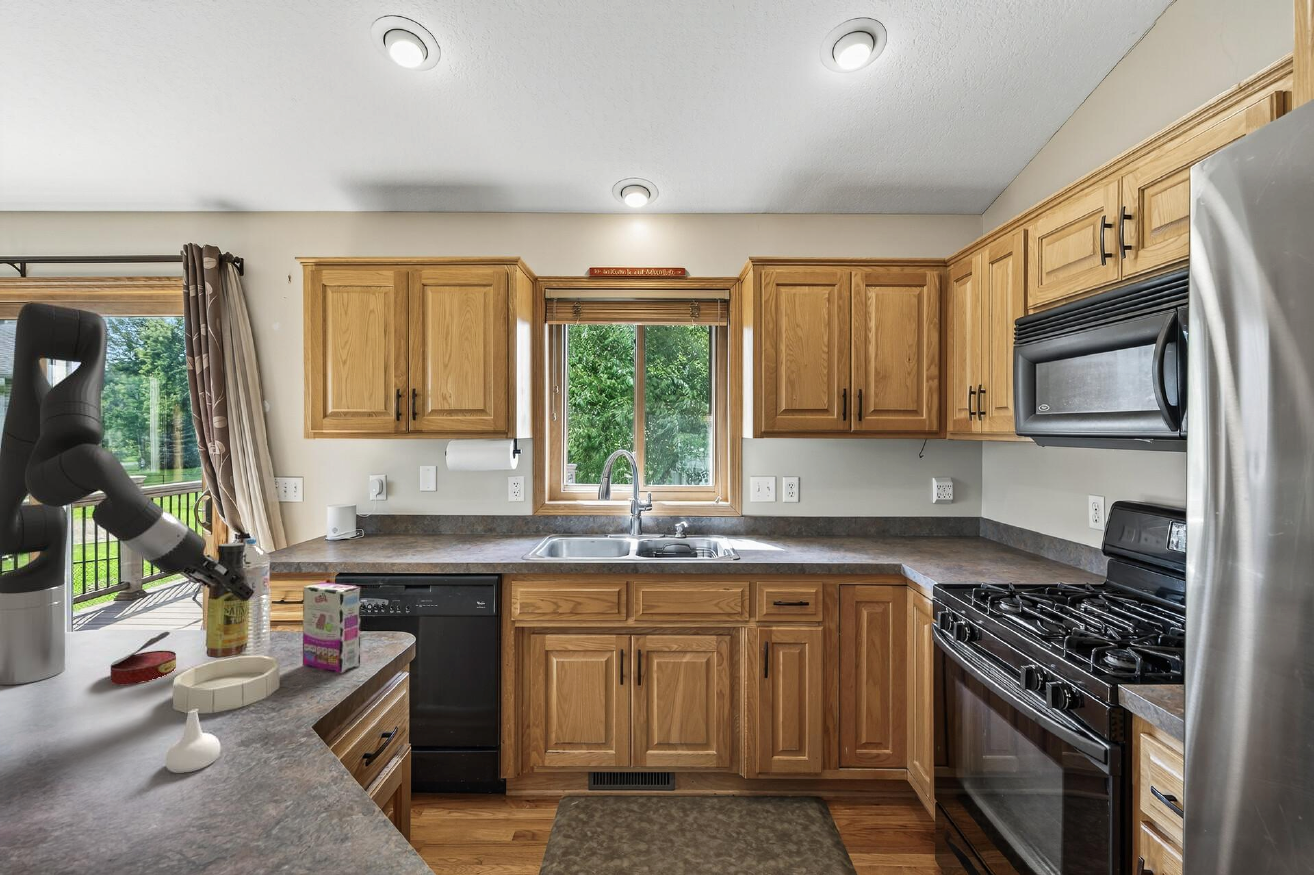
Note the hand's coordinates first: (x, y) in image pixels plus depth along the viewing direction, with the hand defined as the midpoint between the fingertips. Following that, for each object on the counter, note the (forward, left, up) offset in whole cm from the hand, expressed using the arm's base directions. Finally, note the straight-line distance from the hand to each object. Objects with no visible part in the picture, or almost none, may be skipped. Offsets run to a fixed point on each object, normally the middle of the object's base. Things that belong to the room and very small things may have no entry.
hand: (237, 594), depth 112 cm
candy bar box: (+5, +15, -18) cm, 24 cm away
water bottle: (-15, +11, -18) cm, 26 cm away
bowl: (0, -2, -18) cm, 18 cm away
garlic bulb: (+20, -18, -18) cm, 32 cm away
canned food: (-24, -4, -18) cm, 30 cm away
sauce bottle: (0, -2, -11) cm, 11 cm away
